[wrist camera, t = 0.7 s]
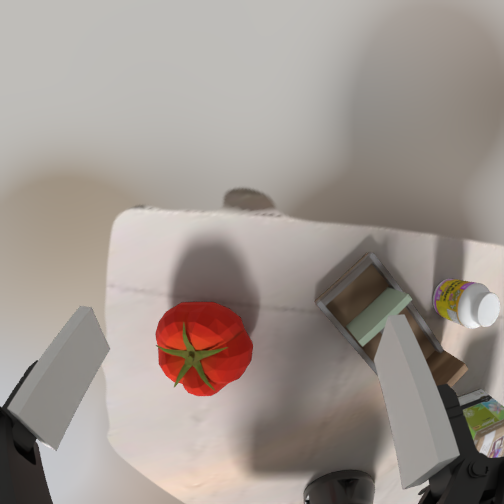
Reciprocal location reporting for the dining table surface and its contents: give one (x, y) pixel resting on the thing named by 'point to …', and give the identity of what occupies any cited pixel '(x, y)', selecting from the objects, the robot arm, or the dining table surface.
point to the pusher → (378, 314)
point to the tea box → (484, 422)
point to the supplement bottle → (466, 303)
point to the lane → (352, 304)
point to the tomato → (202, 346)
